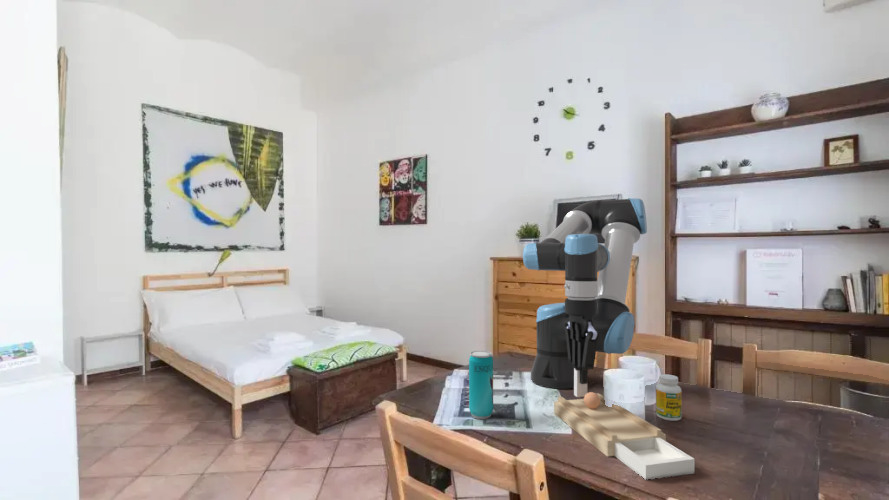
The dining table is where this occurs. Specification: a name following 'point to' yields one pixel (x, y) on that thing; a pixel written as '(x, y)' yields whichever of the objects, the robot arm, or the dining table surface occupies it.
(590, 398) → the ball
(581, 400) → the chute
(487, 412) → the beverage can
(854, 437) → the dining table surface
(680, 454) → the dish
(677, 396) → the supplement bottle
